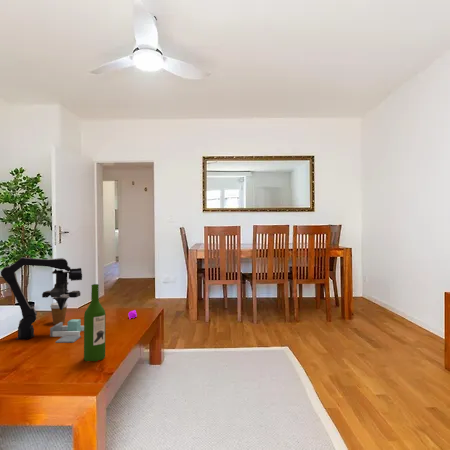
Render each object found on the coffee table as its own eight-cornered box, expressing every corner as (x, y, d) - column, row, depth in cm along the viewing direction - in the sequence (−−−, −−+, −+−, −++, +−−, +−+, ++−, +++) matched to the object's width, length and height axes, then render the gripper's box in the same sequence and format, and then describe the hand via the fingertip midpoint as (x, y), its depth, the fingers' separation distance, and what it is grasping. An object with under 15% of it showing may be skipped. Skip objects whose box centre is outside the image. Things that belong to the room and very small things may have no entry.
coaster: (55, 342, 172) (55, 341, 172) (63, 337, 181) (63, 335, 181) (73, 342, 172) (73, 341, 172) (80, 337, 181) (80, 335, 181)
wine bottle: (92, 363, 145) (93, 287, 146) (79, 359, 150) (79, 285, 151) (109, 356, 153) (110, 284, 153) (96, 353, 158) (97, 282, 158)
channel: (50, 336, 182) (50, 328, 182) (60, 330, 193) (60, 322, 193) (78, 336, 182) (78, 328, 182) (87, 330, 193) (87, 322, 193)
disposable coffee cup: (46, 324, 205) (46, 304, 205) (59, 320, 214) (59, 301, 214) (58, 326, 201) (58, 305, 202) (71, 322, 210) (71, 302, 210)
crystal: (128, 317, 221) (128, 310, 222) (136, 316, 223) (136, 309, 223) (128, 319, 217) (128, 312, 217) (137, 318, 219) (137, 311, 219)
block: (67, 334, 185) (67, 321, 185) (71, 332, 190) (71, 319, 190) (76, 334, 185) (76, 321, 185) (80, 332, 190) (80, 319, 190)
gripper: (36, 283, 180) (36, 313, 180) (72, 283, 180) (71, 313, 180) (47, 280, 191) (47, 308, 191) (80, 280, 191) (80, 308, 191)
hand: (61, 309), depth 188 cm, fingers closed
